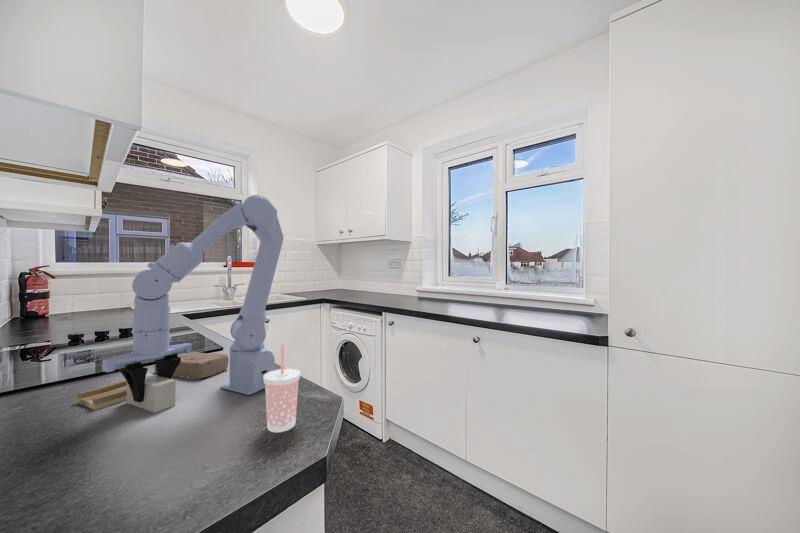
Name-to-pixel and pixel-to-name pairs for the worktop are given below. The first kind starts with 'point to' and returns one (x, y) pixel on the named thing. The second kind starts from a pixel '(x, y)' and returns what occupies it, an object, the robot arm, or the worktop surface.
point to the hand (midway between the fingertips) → (150, 396)
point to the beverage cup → (281, 397)
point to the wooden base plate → (104, 395)
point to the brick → (200, 364)
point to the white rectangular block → (155, 393)
